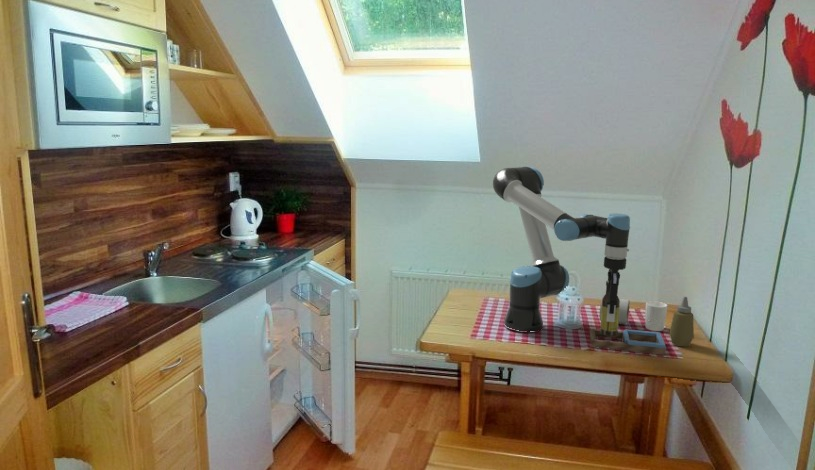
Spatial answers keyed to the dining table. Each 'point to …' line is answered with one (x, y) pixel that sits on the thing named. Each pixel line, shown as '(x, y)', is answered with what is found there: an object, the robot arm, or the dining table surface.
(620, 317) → the toilet paper
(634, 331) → the caddy
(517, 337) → the dining table surface
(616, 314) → the sauce bottle
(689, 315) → the squeeze bottle
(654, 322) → the white cup
